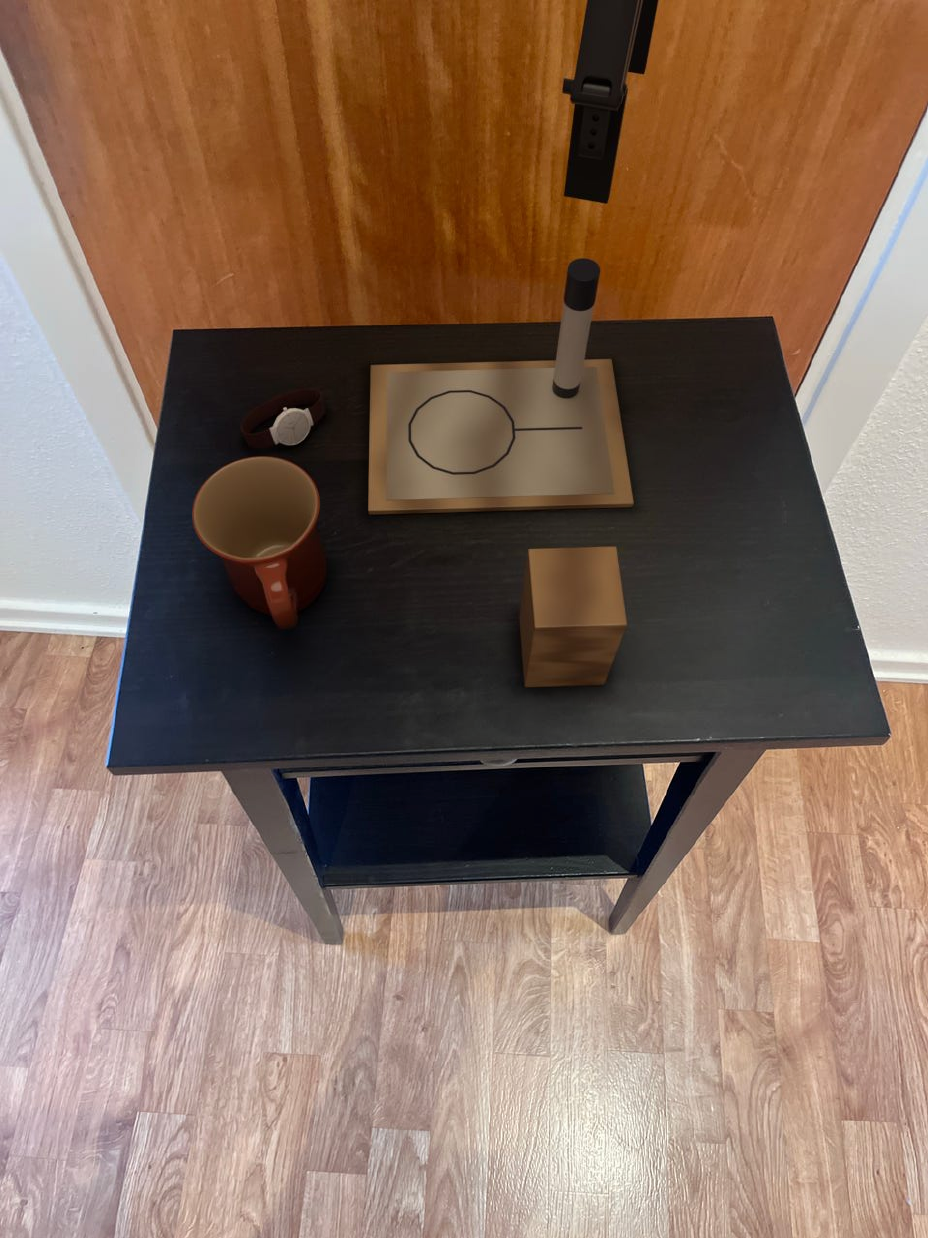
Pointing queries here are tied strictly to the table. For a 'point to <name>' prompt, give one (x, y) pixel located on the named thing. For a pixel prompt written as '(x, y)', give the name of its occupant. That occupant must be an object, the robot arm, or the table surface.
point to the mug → (265, 533)
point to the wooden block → (571, 616)
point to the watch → (284, 418)
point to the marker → (575, 325)
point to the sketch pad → (494, 439)
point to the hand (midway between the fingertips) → (606, 129)
